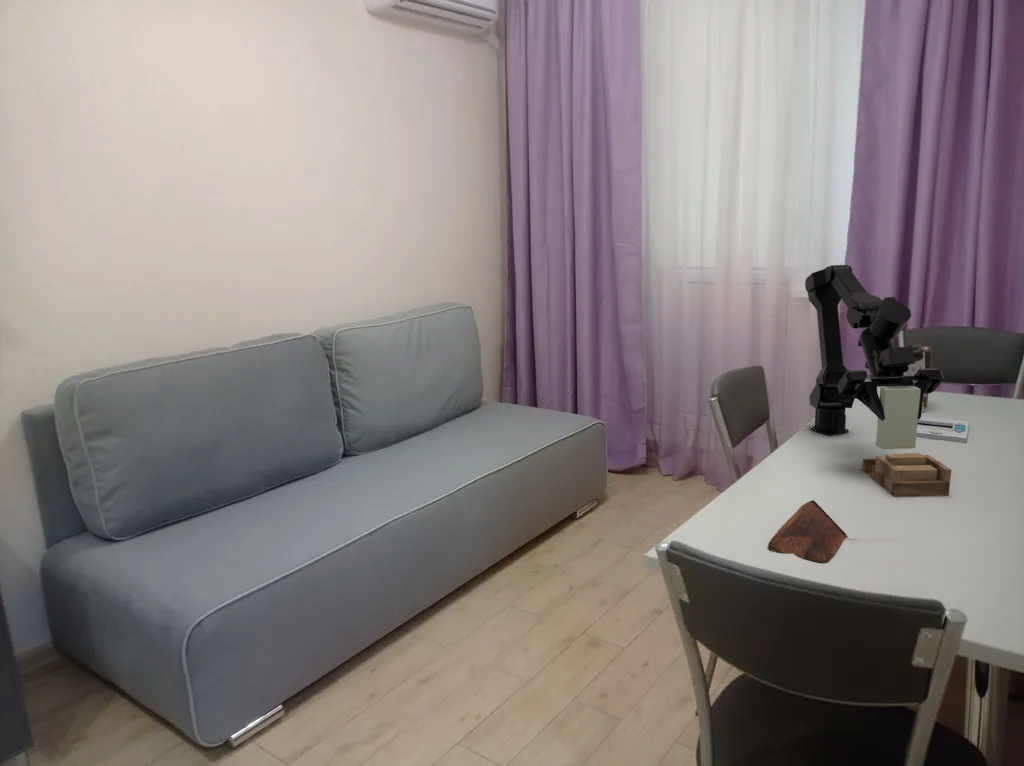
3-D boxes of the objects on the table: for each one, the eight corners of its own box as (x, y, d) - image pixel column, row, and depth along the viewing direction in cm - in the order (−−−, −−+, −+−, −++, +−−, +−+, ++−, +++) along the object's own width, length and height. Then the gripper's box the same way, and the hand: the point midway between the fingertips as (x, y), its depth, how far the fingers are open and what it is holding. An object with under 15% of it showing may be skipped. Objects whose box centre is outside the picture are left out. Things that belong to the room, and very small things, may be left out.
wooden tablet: (808, 492, 142) (865, 497, 136) (808, 503, 142) (865, 508, 136) (763, 545, 121) (827, 553, 115) (764, 558, 122) (828, 567, 116)
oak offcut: (883, 480, 146) (885, 453, 145) (916, 479, 146) (919, 452, 145) (889, 484, 144) (891, 457, 143) (923, 484, 144) (926, 457, 142)
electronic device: (969, 419, 181) (966, 436, 169) (968, 428, 182) (965, 445, 170) (886, 411, 191) (878, 426, 179) (885, 419, 192) (877, 435, 179)
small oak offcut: (893, 488, 142) (895, 466, 141) (928, 487, 142) (930, 465, 141) (899, 493, 140) (901, 470, 139) (935, 492, 140) (937, 469, 139)
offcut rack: (859, 473, 153) (861, 445, 152) (909, 472, 153) (911, 444, 151) (894, 501, 138) (896, 471, 137) (948, 500, 138) (952, 470, 137)
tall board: (875, 445, 149) (880, 386, 146) (908, 444, 149) (914, 386, 146) (881, 449, 147) (886, 390, 144) (915, 448, 147) (920, 389, 144)
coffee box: (925, 412, 194) (931, 351, 190) (898, 409, 197) (903, 350, 194) (928, 404, 202) (933, 345, 198) (901, 401, 205) (906, 344, 201)
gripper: (847, 331, 147) (867, 399, 139) (943, 328, 146) (969, 396, 138) (829, 362, 156) (847, 427, 148) (920, 359, 156) (942, 425, 147)
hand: (901, 419), depth 145 cm, fingers closed on tall board, 6 cm apart
